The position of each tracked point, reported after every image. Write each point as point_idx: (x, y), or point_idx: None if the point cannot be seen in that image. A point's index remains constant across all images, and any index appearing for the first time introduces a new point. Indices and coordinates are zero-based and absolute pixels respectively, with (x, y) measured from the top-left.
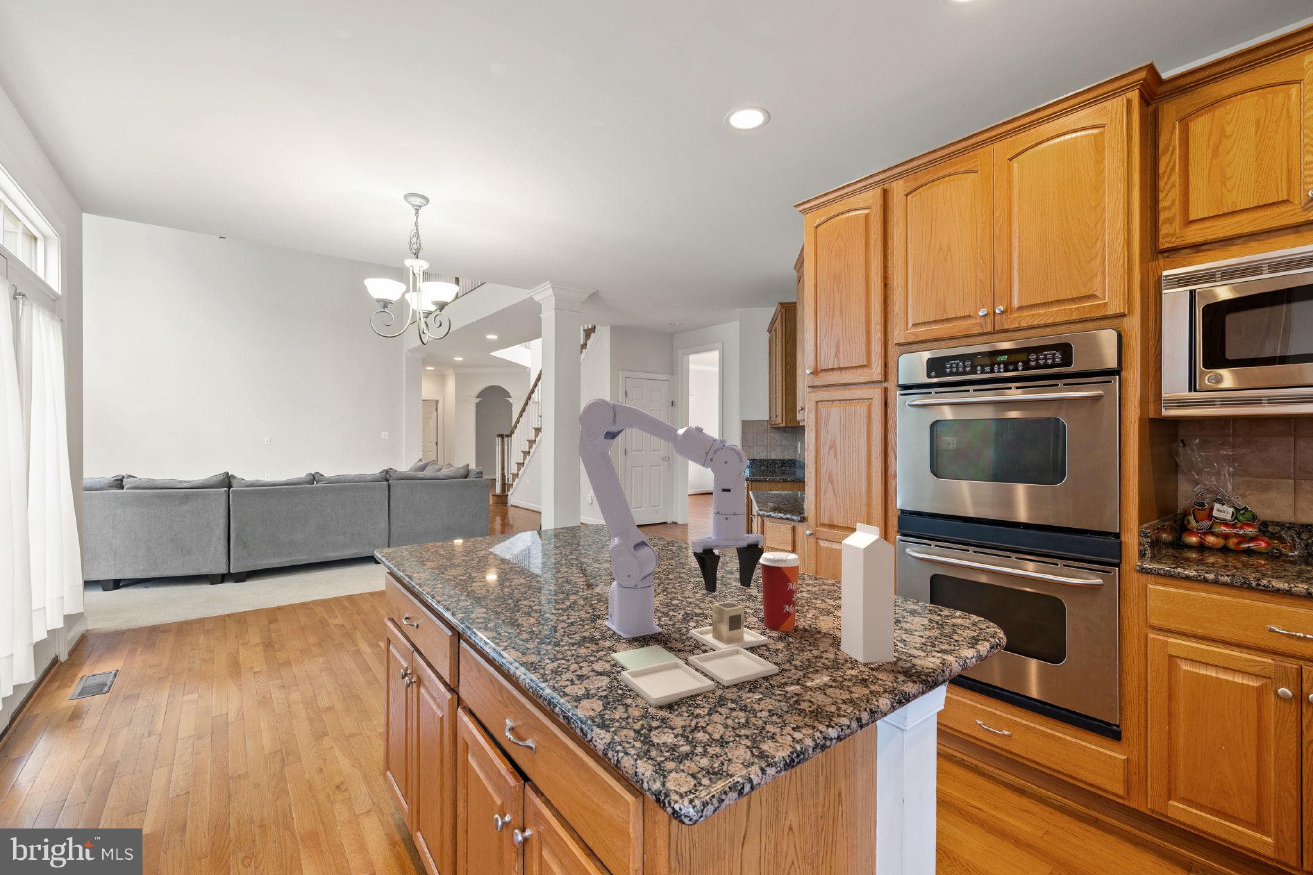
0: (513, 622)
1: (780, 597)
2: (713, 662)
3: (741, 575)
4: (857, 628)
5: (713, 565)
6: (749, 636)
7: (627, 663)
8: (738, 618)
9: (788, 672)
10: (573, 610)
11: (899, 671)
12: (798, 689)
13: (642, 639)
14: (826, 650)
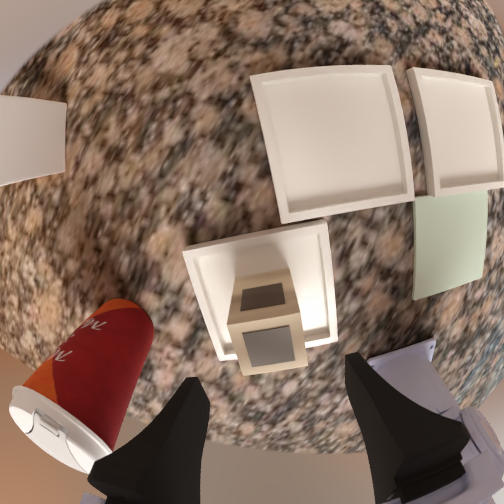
0: (478, 396)
1: (98, 346)
2: (366, 176)
3: (202, 426)
4: (22, 115)
5: (415, 417)
6: (210, 296)
7: (482, 232)
8: (250, 302)
9: (220, 87)
10: None
11: (40, 79)
12: (247, 19)
13: (411, 337)
14: (84, 186)
